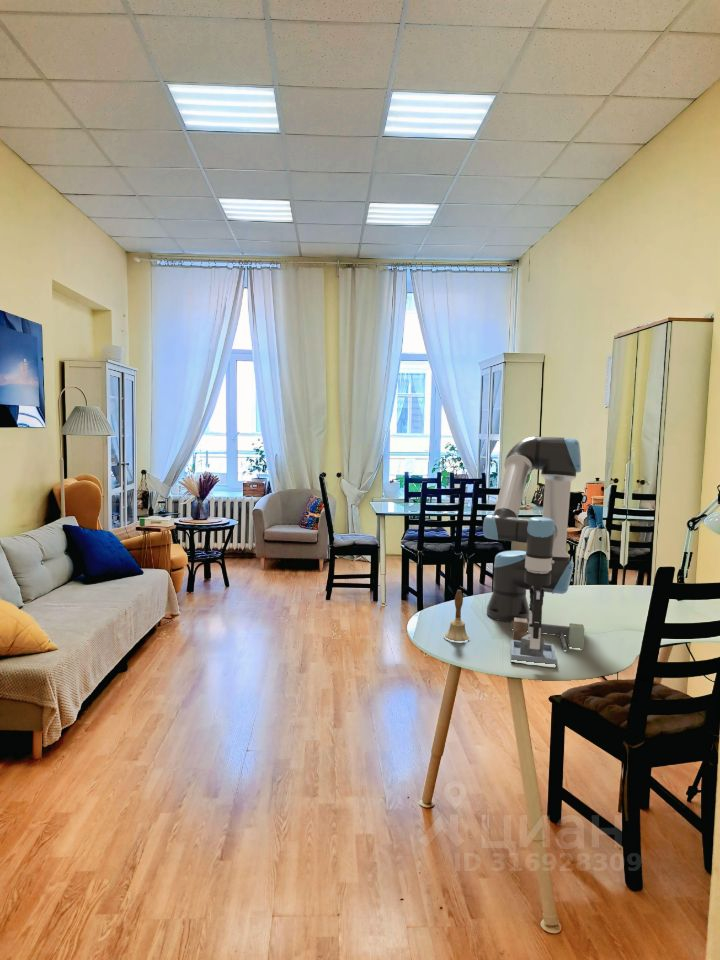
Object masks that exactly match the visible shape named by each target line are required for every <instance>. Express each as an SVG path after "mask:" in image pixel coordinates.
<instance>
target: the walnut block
mask: <svg viewBox="0 0 720 960" xmlns="http://www.w3.org/2000/svg"><path fill="white" fill-rule="evenodd" d="M527 622H528V620H527V619H524V618H514V629H513V631H512V632H513V633H512V640H517V641H521V638H522V637H524V636H526V635H527V634H528V632H527Z"/></svg>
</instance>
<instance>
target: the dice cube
mask: <svg viewBox="0 0 720 960" xmlns="http://www.w3.org/2000/svg"><path fill="white" fill-rule="evenodd" d="M530 635H531V634H529V633H527V635H526V636H524V637H522V638H521V648H520V654H521V655H528V656H537V657H540V656H541V655H543V650H544V644H545V637H542V636H540V650H539V649H530Z"/></svg>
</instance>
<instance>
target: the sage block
mask: <svg viewBox="0 0 720 960" xmlns="http://www.w3.org/2000/svg"><path fill="white" fill-rule="evenodd" d="M584 639H585V625H584V624H581V623H573V622H569V637H568V641H567V645H568V644H569V646H568V648H569V647H572V648H580V649H583V650H584Z"/></svg>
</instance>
